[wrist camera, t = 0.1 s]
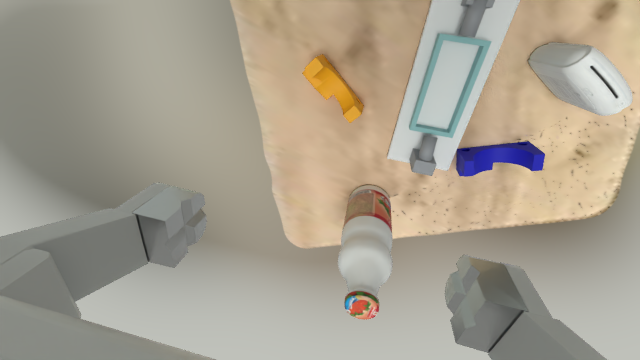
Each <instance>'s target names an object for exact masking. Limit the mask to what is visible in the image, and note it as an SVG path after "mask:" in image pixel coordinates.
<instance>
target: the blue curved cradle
mask: <svg viewBox="0 0 640 360" xmlns="http://www.w3.org/2000/svg"><path fill="white" fill-rule="evenodd" d="M544 157H545V154H544V153H543V152H542V151H541V150H539V149H538V148H537V147H535V146H534V145H533V144H531V143H530V142H529V141H527V142H518V143H508V144H499V145H490V146H480V147H471V148H461V149H457V163H456V170H457V172H458V174H459V176H464V177H465V176H473V175H476V174H477V173H479V172H482V171H486V170H492V166H493V163H495V162H504V163H513V164H518V165H521V166H524V167H526V168H528V169H530V170H531V171H538V170H542V168H543V163H544Z"/></svg>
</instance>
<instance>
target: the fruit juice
mask: <svg viewBox="0 0 640 360" xmlns="http://www.w3.org/2000/svg"><path fill="white" fill-rule="evenodd" d="M341 243H342V248H341V250H340V253H339V257H338V266H339V270H340V273H341V275H342V276H343V278H344V279H345V280H346V283H347V286H348V293H347V294H346V297H345V309H346V311H347V312H348V313H349V314H350V315H351V316H353V317H355V318H358V319H371V318H373V317H375V316H376V315H377V314H378V311H379V299H378V297H377V293H378V290H379V288H380V286H381V285H382V284H384V283H385V282H386V281H387V280H388V278H389V277H390V274H391V272H392V257H391V254H390V252H391V248H392V225H391V204H390V199H389V197H388V195H387V193H386V192H385V191H384V190H382V189H381V188H379V187H377V186H373V185H364V186H361V187H358V188H357V189H355V190H354V191H353V192H352V194H351V195H350V198H349V201H348V206H347V211H346V216H345V221H344V227H343V231H342V239H341Z"/></svg>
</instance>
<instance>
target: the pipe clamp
mask: <svg viewBox="0 0 640 360" xmlns="http://www.w3.org/2000/svg"><path fill="white" fill-rule="evenodd" d="M302 74H303V75H304V76H305V77H306V78H307V80H308V81H309V82H310V83H311V84H312V86H313V87H314V88H315V89H316V90H317V91H318V92H319V93H320V94H321V95H322V96H323V97H324V98H325V99H326V100H327V99H328V98H329V97H331V96H332V95H333V94H334V96H335V97H336V98H337V100H338V102H339V103H340V105H341V107H342V110H343V115H344V117H345V118H346V119H347V120H348V122H349V123H351V122H352V121H354V120H355V119H356V118H357V117H359V116H360V115H361V114H362V110H363V106H364V105H363V104H362V103H361V102H360V100H359V99H358V98H357V97H356V95H355V94H354V93H353V91H352V90H351V89H350V88H349V86H348V85H347V84H346V83H345V81H344V80H343V79H342V78H341V76H340V75H339V74H338V73H337V71H336V70H335V69H334V68H333V66H332V65H331V64H330V63H329V61H328V60H327V59H326V57H325V56H324V55H323V54H322V55H320V56H317V57H315V58H314V59H313V60H312V61H311V62H310V63H309V64H308V65H307V66H306V67H305V71H304V72H303V73H302Z"/></svg>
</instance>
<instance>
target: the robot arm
mask: <svg viewBox="0 0 640 360" xmlns="http://www.w3.org/2000/svg"><path fill="white" fill-rule="evenodd" d="M204 205H205V201H204V196H203V195H202V194H201V193H198V192H194V191H190V190H187V189H183V188H179V187H175V186H170V185H166V184H162V183H153V184H152V185H150V186H149V187H147V188H146V189H144V190H143V191H141V192H140V193H138V194H137V195H135V196H134V197H132V198H131V199H129V200H128V201H126V202H125V203H123V204H122V205H120V206H119V207H117V208H116V209H111V208H109V209H105V210H101V211H97V212H93V213H89V214H86V215H82V216H78V217H74V218H70V219H66V220H63V221H59V222H55V223H51V224H47V225H44V226H40V227H36V228H32V229H28V230H24V231H21V232H17V233H13V234H9V235H6V236H2V237H0V360H215V359H212V358H209V357H205V356H202V355H199V354H195V353H192V352H188V351H185V350H182V349H179V348H175V347H172V346H169V345H165V344H162V343H158V342H155V341H152V340H149V339H145V338H142V337H139V336H136V335H132V334H128V333H125V332H122V331H119V330H116V329H112V328H109V327H105V326H102V325H99V324H95V323H92V322H89V321H86V320H82V319H81V313H80V311H79V309H78V307H77V305H76V303H75V301H77V300H79V299H81V298H83V297H85V296H87V295H89V294H90V293H92V292H94V291H96V290H98V289H100V288H102V287H104V286H106V285H108V284H110V283H112V282H113V281H115V280H117V279H119V278H121V277H123V276H125V275H127V274H129V273H131V272H132V271H134V270H136V269H138V268H140V267H142V266H144V265H146V264H148V262H151V263H155V264H160V265H164V266H168V267H173V268H175V267H176V266H177V264H178V263H179V262H180V261H181V260H182V259H183V258H184V256H185V255H186V254H187V253H188V246H189V245H192V244H194V243H196V242H197V241H198V240H199V239H200V238H201V237H202V235H203V232H204V230H205V228H206V222H207V220H206V214H205V213H204V212H203V211H202V209H201V208H202V207H203V206H204ZM456 265H457V268H458V271H457V272H454V273H452V274H451V275H450V276H449V278H448V280H447V283H446V289H445V299H446V304H447V307H448V308H449V309H450V310H451V312H452V313H453V314H454V315H453V317H452V319H451V320H450V321H451V325H452V329H453V333H454V337H455V342H456V343H457V344H460V345H463V346H467V347H470V348H474V349H477V350H480V351H484V352H487V353H489V354H488V355H489V356H490V358H491V359H492V360H607V359H606V358H604V357H603V356H602V355H601V354H600V353H598V352H597V351H596V350H595V349H594V348H592V347H591V346H590V345H589V344H587V343H586V342H585V341H584V340H583V339H581V338H580V337H579V336H578V335H577V334H575V333H574V332H573V331H572V330H571V329H569V328H568V327H567V326H566V325H564V324H563V323H562V322H561V321H560V320H557V319H553V318H552V316H551V314H550V313H549V311H548V310H547V308H546V306H545V304H544V303H543V301H542V299H541V298H540V296H539V294H538V293H537V291H536V290H535V288H534V286H533V284H532V283H531V281H530V279H529V278H528V276H527V274H526V273H525V271H524V270H523V269H522V268H520V267H519V266H514V265H510V264H505V263H498V262H494V261H489V260H485V259H481V258H476V257H472V256H467V255H462V257H460V258H459V260H458V262H457V263H456Z"/></svg>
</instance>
